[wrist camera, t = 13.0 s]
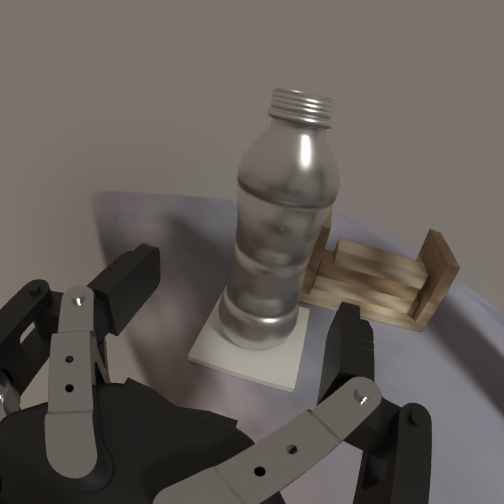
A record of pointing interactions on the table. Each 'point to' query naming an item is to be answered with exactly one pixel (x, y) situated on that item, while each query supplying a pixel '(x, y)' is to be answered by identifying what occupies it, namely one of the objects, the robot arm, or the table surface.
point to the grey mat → (251, 354)
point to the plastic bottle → (279, 219)
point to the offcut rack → (380, 279)
